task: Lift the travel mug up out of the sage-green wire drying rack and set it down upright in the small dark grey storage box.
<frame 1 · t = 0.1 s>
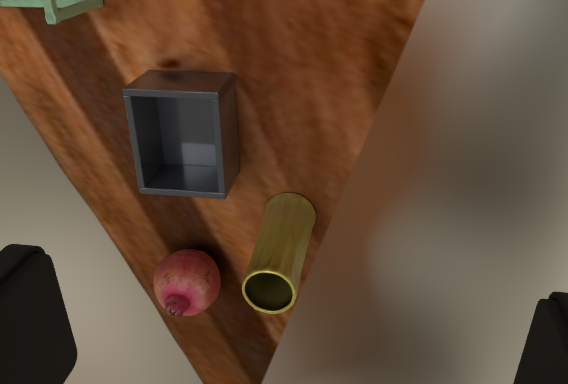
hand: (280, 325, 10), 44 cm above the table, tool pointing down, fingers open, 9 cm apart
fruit: (198, 259, 66), on the table
dark grey storage box: (195, 122, 57), on the table
vase: (290, 213, 61), on the table
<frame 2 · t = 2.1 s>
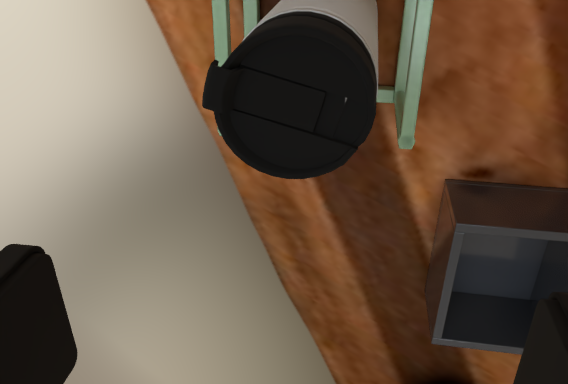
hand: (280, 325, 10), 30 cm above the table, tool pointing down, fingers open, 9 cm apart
travel mug: (330, 12, 36), resting in rack
rack: (330, 12, 36), on the table
dark grey storage box: (491, 243, 43), on the table
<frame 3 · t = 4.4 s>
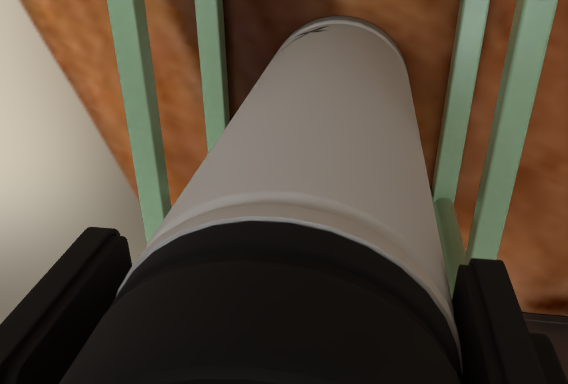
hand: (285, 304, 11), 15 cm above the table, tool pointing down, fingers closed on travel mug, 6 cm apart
travel mug: (334, 83, 24), resting in rack, touching gripper
rack: (334, 84, 24), on the table
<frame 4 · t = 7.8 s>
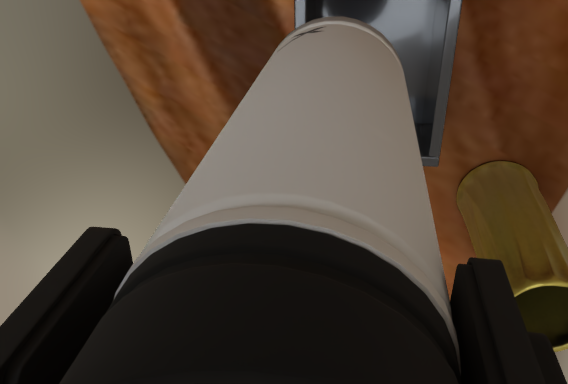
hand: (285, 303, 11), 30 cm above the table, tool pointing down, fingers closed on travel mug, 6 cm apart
travel mug: (331, 83, 24), point 15 cm above the table, touching gripper
dark grey storage box: (371, 52, 37), on the table
vase: (495, 193, 41), on the table
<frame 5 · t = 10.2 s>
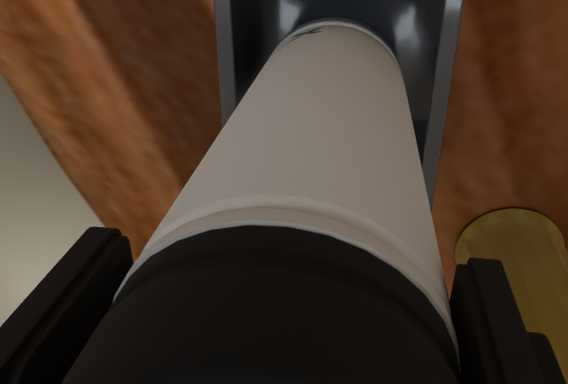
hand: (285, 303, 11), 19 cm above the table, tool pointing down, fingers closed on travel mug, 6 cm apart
travel mug: (329, 84, 24), point 4 cm above the table, touching gripper
dark grey storage box: (339, 61, 27), on the table
vase: (506, 248, 31), on the table
when the fingers open (16 cm above the table, at t = 11.7 s): travel mug stays where it is, resting on dark grey storage box.
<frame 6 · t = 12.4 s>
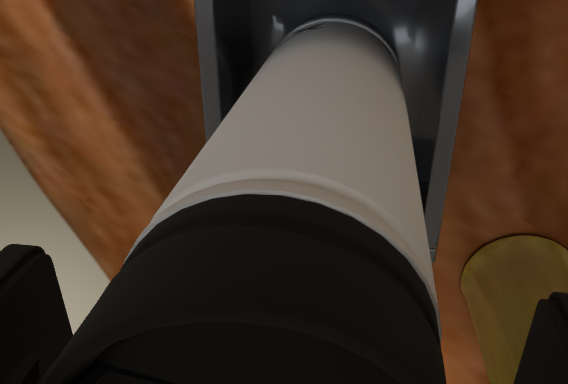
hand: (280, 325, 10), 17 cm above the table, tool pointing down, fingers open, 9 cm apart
travel mug: (330, 79, 25), resting on dark grey storage box
dark grey storage box: (337, 78, 25), on the table
vase: (516, 276, 29), on the table
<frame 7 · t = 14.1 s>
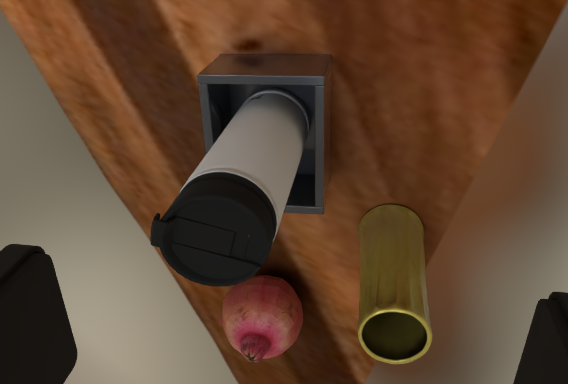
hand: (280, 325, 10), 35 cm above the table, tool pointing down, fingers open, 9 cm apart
travel mug: (273, 119, 45), resting on dark grey storage box
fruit: (270, 287, 55), on the table
dark grey storage box: (277, 118, 46), on the table
vase: (390, 230, 49), on the table
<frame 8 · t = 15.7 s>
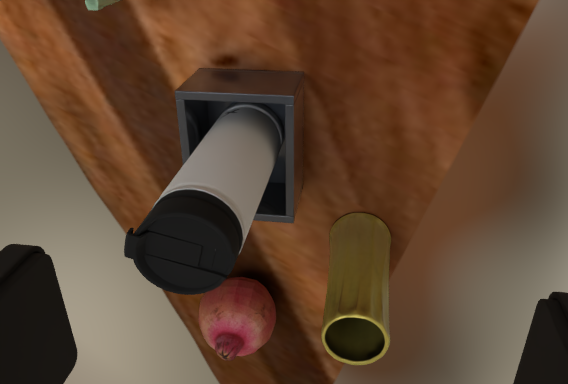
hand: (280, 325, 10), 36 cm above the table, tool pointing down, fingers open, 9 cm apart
travel mug: (249, 131, 48), resting on dark grey storage box
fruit: (246, 287, 57), on the table
dark grey storage box: (253, 130, 48), on the table
vase: (359, 236, 52), on the table
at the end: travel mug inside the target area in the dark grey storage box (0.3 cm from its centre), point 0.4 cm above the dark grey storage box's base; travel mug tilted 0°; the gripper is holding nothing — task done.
